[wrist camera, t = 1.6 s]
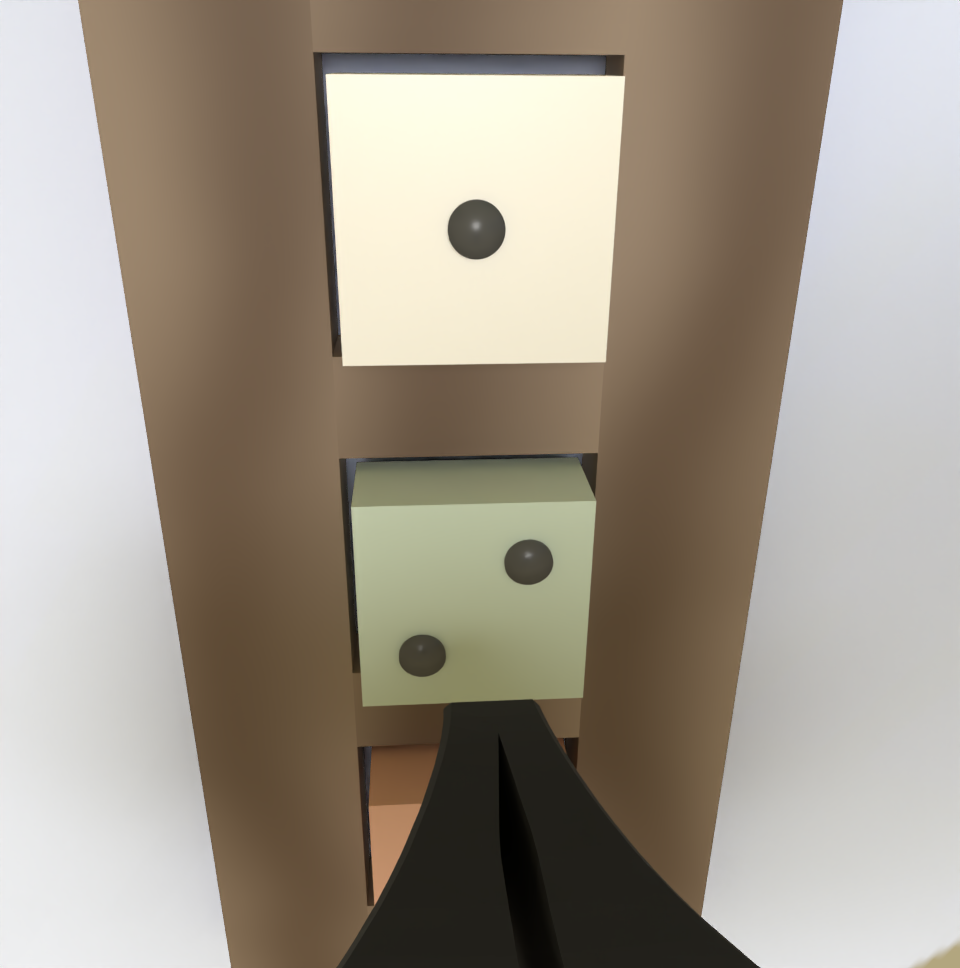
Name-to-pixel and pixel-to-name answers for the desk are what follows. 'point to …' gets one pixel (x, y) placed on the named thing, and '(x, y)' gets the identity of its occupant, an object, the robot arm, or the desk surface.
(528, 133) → the cream button
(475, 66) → the desk surface
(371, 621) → the sage button
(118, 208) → the button board
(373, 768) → the terracotta button
